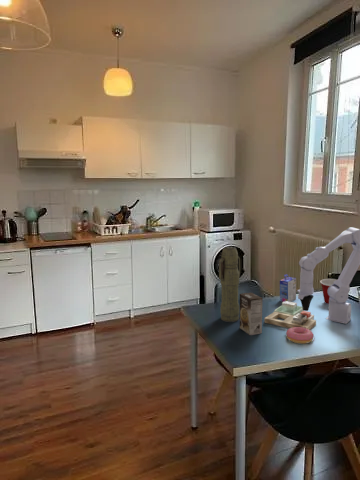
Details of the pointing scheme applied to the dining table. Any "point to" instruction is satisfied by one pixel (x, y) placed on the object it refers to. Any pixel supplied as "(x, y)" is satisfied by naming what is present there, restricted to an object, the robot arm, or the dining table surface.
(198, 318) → the dining table surface
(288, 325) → the tan open frame
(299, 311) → the tote
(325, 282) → the plastic cup
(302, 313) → the button
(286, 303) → the billet
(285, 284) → the ink cartridge box
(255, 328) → the coffee box
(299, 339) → the doughnut
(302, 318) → the block
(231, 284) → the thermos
